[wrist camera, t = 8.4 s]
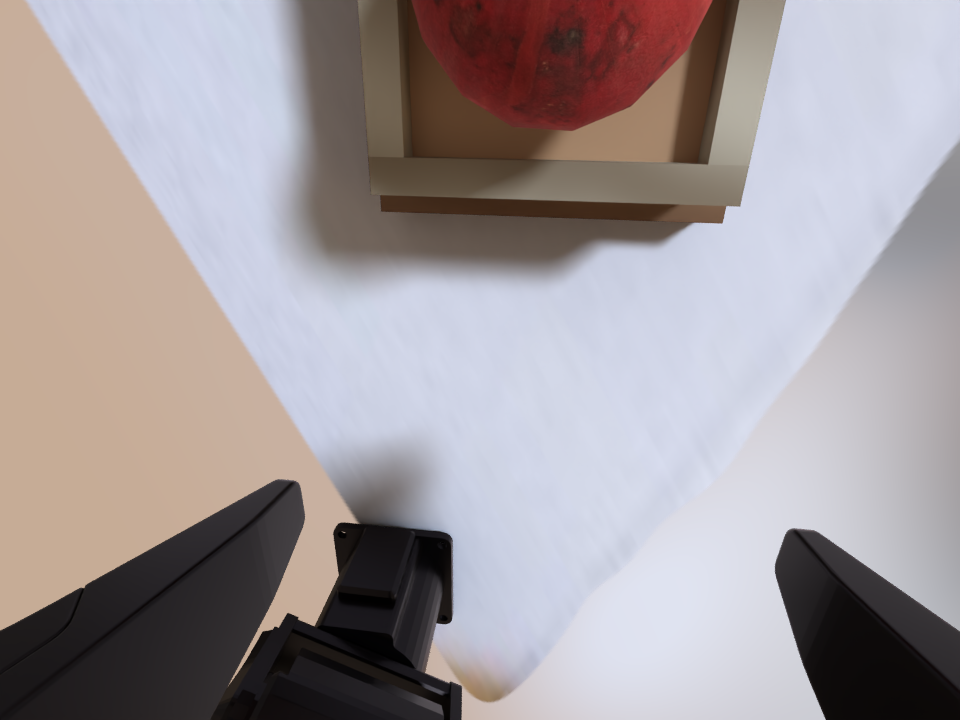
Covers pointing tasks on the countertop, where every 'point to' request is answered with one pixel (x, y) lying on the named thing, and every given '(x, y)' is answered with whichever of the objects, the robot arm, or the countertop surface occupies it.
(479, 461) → the countertop surface
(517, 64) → the onion
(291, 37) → the countertop surface
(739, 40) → the wooden tray on base
